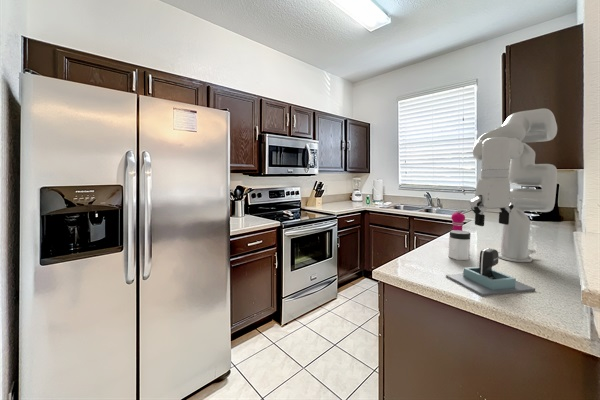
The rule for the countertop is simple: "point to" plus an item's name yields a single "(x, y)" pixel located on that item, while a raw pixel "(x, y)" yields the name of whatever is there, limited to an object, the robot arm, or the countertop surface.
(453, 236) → the jar
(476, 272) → the charging dock
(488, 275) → the black hard case
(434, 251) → the countertop surface
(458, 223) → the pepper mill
